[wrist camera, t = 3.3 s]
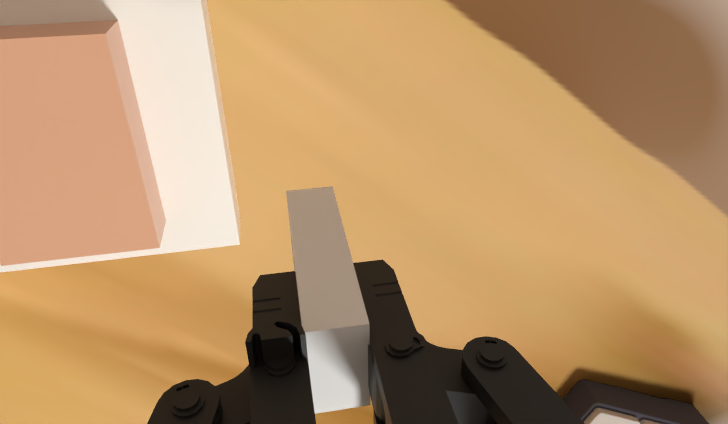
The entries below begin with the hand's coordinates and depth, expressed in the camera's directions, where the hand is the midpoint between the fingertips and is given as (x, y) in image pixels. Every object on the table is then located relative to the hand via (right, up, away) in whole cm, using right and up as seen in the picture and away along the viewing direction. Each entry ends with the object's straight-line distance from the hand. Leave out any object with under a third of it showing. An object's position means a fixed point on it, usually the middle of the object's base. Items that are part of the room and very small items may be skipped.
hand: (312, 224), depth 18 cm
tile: (-12, +4, +7) cm, 14 cm away
